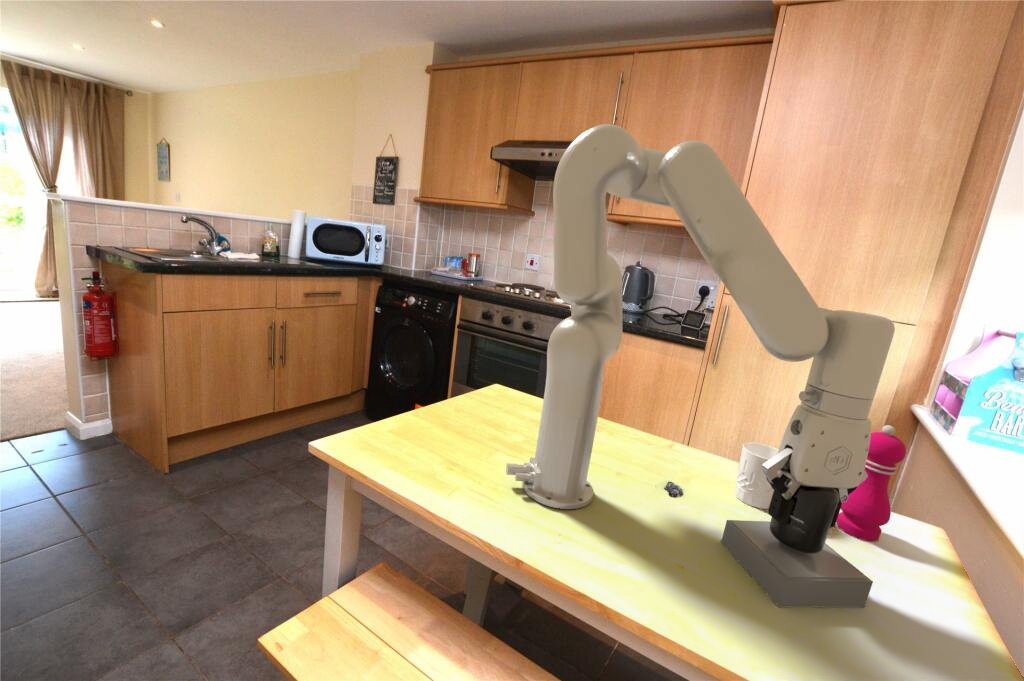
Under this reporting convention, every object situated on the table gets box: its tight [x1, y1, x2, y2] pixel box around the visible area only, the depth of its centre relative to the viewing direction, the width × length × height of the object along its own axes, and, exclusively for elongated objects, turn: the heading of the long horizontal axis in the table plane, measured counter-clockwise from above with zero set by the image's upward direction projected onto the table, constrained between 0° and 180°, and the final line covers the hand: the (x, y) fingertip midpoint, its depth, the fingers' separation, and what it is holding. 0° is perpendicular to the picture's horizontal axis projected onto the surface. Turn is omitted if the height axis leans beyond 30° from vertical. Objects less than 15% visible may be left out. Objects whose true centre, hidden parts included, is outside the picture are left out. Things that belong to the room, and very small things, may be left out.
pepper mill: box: [836, 424, 907, 542], centre depth 79 cm, size 7×7×20 cm
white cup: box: [734, 441, 781, 510], centre depth 87 cm, size 8×8×10 cm
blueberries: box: [655, 481, 684, 499], centre depth 87 cm, size 7×8×2 cm
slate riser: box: [720, 519, 874, 608], centre depth 67 cm, size 13×13×4 cm
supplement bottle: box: [769, 478, 840, 554], centre depth 65 cm, size 7×7×12 cm
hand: (800, 519), depth 65 cm, fingers closed on supplement bottle, 6 cm apart
